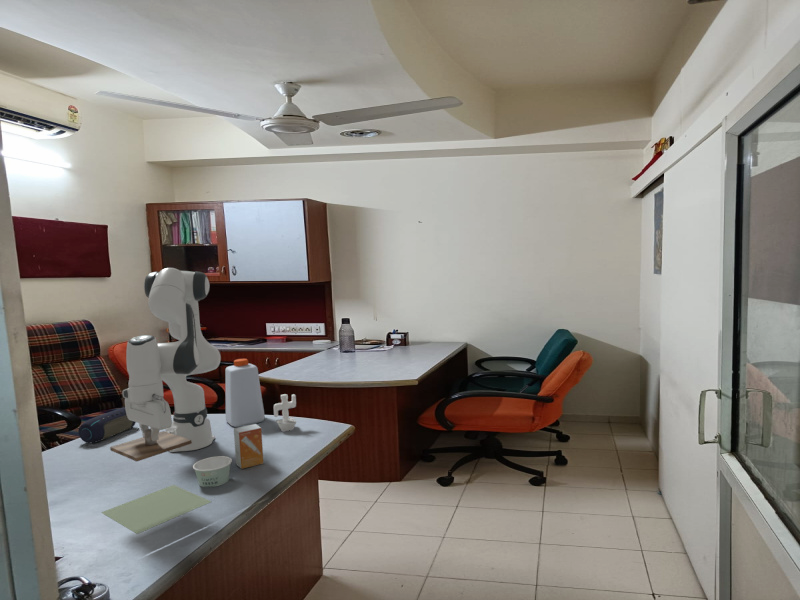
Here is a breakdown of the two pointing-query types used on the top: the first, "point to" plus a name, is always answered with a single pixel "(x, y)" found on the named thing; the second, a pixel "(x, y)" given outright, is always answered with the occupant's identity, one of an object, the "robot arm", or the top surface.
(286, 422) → the figurine
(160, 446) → the walnut lid
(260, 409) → the plastic bottle
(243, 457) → the small box
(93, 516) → the top surface
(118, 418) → the portable speaker
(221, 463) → the food container
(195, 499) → the olive mat
